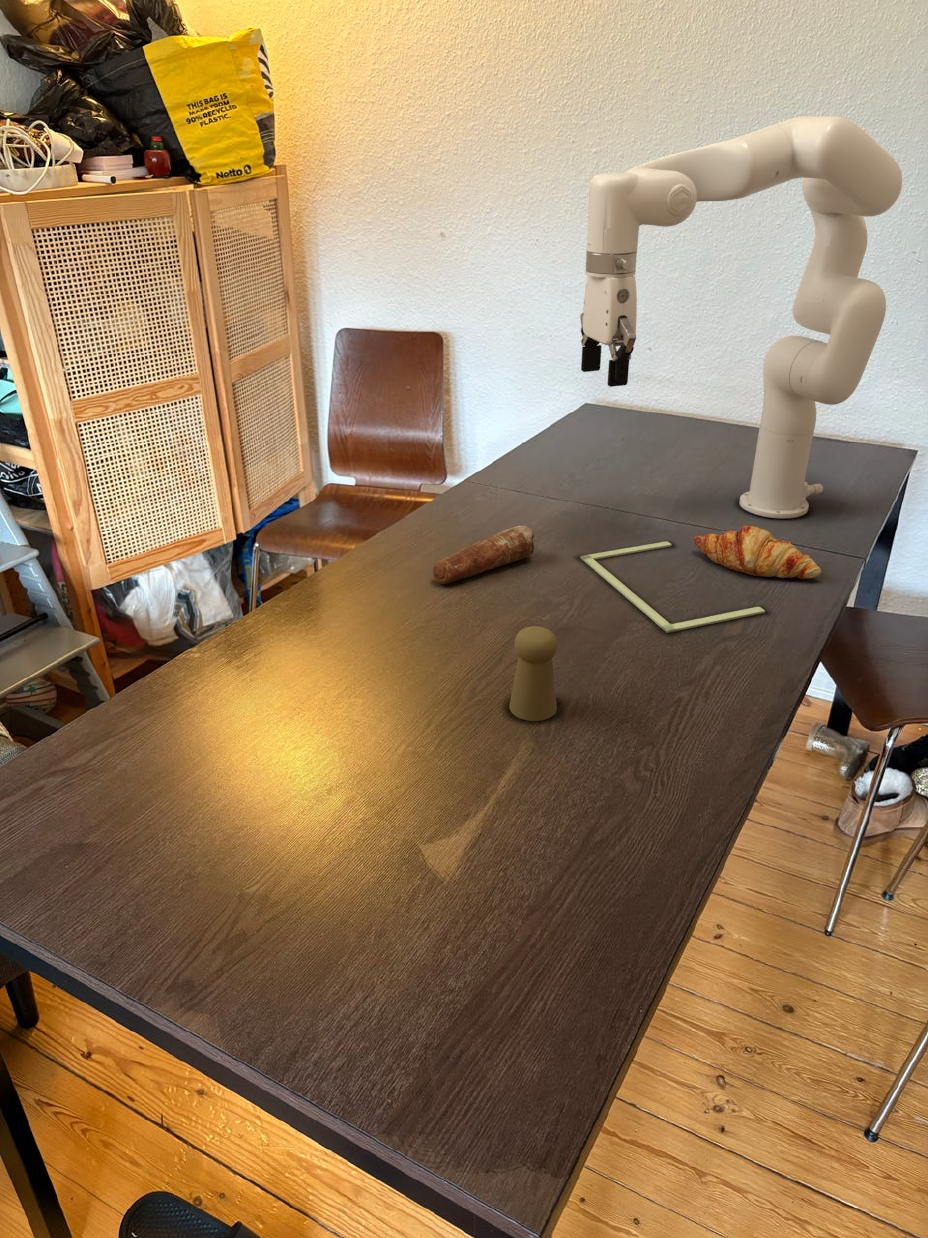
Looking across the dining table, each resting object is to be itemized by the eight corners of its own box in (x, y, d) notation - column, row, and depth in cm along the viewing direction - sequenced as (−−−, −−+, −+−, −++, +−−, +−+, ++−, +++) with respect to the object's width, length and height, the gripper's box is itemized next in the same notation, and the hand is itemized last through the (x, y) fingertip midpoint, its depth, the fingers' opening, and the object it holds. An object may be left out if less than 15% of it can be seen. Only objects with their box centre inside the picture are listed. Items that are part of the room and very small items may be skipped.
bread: (537, 560, 153) (538, 530, 150) (445, 591, 143) (444, 559, 141) (513, 548, 158) (514, 518, 155) (422, 577, 148) (422, 546, 145)
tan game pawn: (506, 695, 117) (508, 621, 112) (552, 692, 118) (556, 618, 113) (512, 722, 112) (514, 645, 107) (560, 719, 113) (565, 643, 107)
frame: (666, 543, 159) (667, 541, 159) (764, 612, 137) (765, 610, 137) (580, 558, 154) (580, 555, 154) (667, 633, 131) (667, 630, 131)
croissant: (818, 593, 149) (833, 546, 149) (811, 589, 140) (826, 539, 140) (694, 562, 159) (707, 518, 158) (680, 556, 150) (694, 509, 149)
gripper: (661, 270, 131) (650, 389, 139) (608, 255, 145) (601, 363, 153) (613, 273, 129) (606, 393, 137) (564, 258, 143) (560, 367, 151)
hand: (603, 377), depth 145 cm, fingers open, 9 cm apart
